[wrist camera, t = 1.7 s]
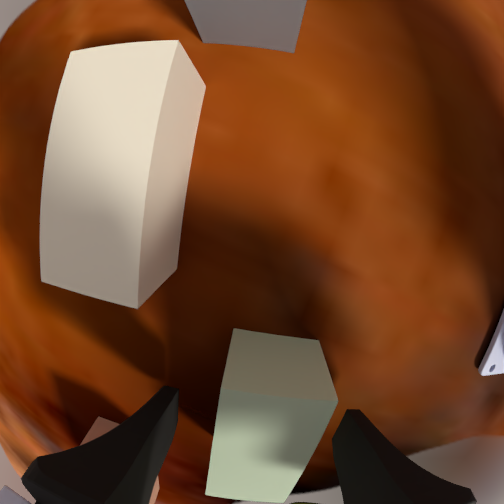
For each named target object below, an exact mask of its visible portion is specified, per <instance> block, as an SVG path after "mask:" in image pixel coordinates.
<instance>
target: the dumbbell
mask: <svg viewBox="0 0 504 504" xmlns="http://www.w3.org/2000/svg"><path fill="white" fill-rule="evenodd" d="M291 504H316V503H307V502H295V503H291ZM317 504H318V503H317Z"/></svg>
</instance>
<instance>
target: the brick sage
mask: <svg viewBox="0 0 504 504" xmlns="http://www.w3.org/2000/svg"><path fill="white" fill-rule="evenodd" d="M337 403H338V398H337V395H336V392H335V389H334V385H333V382H332V379H331V376H330V373H329V370H328V367H327V364H326V361H325V358H324V355H323V352H322V349H321V346H320V343H319V340H312V339H304V338H296V337H289V336H281V335H274V334H268V333H261V332H254V331H248V330H242V329H236V328H234V329H233V333H232V338H231V343H230V347H229V352H228V357H227V361H226V366H225V371H224V375H223V380H222V385H221V390H220V397H219V404H218V410H217V417H216V424H215V431H214V437H213V444H212V451H211V458H210V465H209V472H208V479H207V486H206V493H205V495H210V496H215V497H222V498H229V499H236V500H245V501H256V502H270V503H271V502H272V503H284V502H285V501H286V499H287V497H288V496H289V494H290V493H291V491H292V489H293V488H294V486H295V484H296V483H297V481H298V479H299V478H300V476H301V474H302V472H303V471H304V469H305V467H306V465H307V463H308V462H309V460H310V458H311V456H312V454H313V452H314V451H315V449H316V447H317V445H318V443H319V441H320V439H321V437H322V435H323V433H324V431H325V429H326V427H327V425H328V423H329V420H330V418H331V416H332V414H333V412H334V410H335V408H336V405H337Z"/></svg>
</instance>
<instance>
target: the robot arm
mask: <svg viewBox="0 0 504 504" xmlns="http://www.w3.org/2000/svg"><path fill="white" fill-rule="evenodd" d="M478 372H479V373H480V374H481V375H482V376H486V375H494V374H501V373H504V309H503V312H502V315H501V318H500V320H499V323H498V325H497V328H496V331H495V333H494V335H493V338H492V340H491V342H490V345H489V347H488V349H487V351H486V354H485V356H484V358H483V360H482V362H481V364H480V366H479V370H478ZM178 400H179V389H178V388H174V387H169V386H163V387H162V388H161V389H160V390H159V391H158V392H157V393H156V394H155V395H154V396H153V397H152V398H151V399H150V400H149V401H148V402H147V403H146V404H145V405H143V406H142V407H141V408H140V409H139V410H138V411H136V412H135V413H134V414H133V415H132V416H130V417H129V418H128V419H126V420H125V421H124V422H122V423H121V424H119V425H118V426H116V427H115V428H113V429H112V430H110V431H108V432H107V433H105V434H103V435H101V436H100V437H98V438H96V439H94V440H91V441H89V442H87V443H85V444H82V445H80V446H77V447H74V448H71V449H68V450H65V451H62V452H58V453H54V454H49V455H45V456H39V457H37V458H36V459H35V460H34V461H33V462H32V463H31V465H30V466H29V467H28V469H27V470H26V472H25V473H24V475H23V476H22V478H21V480H22V483H23V485H24V486H25V488H26V489H27V490H28V491H29V492H30V494H31V495H32V496H33V497H34V498H35V500H36V503H35V504H149V502H150V498H151V494H152V491H153V487H154V484H155V481H156V478H157V476H158V473H159V471H160V469H161V466H162V464H163V462H164V459H165V457H166V455H167V452H168V450H169V447H170V445H171V443H172V440H173V437H174V433H175V430H176V426H177V422H178ZM332 445H333V456H334V461H335V466H336V470H337V474H338V478H339V482H340V487H341V491H342V495H343V501H344V504H476V502H477V501H476V499H475V497H474V495H473V493H472V491H471V489H469V488H466V487H462V486H459V485H456V484H453V483H451V482H448V481H446V480H444V479H441V478H439V477H437V476H435V475H433V474H431V473H430V472H428V471H426V470H425V469H423V468H421V467H420V466H418V465H417V464H415V463H414V462H413V461H411V460H410V459H409V458H407V457H406V456H405V455H404V454H402V453H401V452H400V451H399V450H398V449H397V448H396V447H395V446H394V445H393V444H391V443H390V442H389V441H388V440H387V439H386V438H385V437H384V436H383V434H382V433H381V432H380V431H379V430H378V429H377V428H376V427H375V426H374V425H373V424H372V423H371V421H370V420H369V419H368V418H367V417H366V416H365V415H364V414H363V413H362V412H361V411H360V410H355V409H347V410H346V412H345V415H344V417H343V419H342V421H341V423H340V425H339V427H338V428H337V430H336V432H335V434H334V436H333V438H332ZM0 504H31V503H30V502H29V501H27V500H26V499H25V498H23V497H22V496H20V495H19V494H17V493H16V492H14V491H13V490H12V489H10V488H9V487H7V486H4V487H3V488H2V490H1V491H0Z"/></svg>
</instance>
